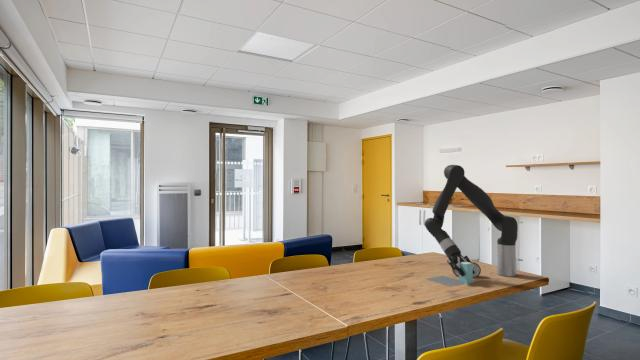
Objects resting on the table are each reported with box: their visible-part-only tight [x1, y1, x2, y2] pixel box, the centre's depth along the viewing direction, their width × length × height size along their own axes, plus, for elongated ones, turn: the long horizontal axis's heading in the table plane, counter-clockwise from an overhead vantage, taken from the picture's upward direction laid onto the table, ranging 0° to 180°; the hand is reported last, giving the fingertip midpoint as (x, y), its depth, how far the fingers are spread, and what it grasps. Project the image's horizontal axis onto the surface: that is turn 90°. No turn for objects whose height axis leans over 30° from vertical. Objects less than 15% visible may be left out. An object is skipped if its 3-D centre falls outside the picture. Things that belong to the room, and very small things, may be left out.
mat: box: [425, 275, 464, 287], centre depth 191 cm, size 14×17×1 cm
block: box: [458, 262, 474, 285], centre depth 188 cm, size 4×4×10 cm
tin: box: [451, 261, 482, 278], centre depth 201 cm, size 15×3×8 cm, turn 84°
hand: (468, 274), depth 186 cm, fingers open, 7 cm apart
